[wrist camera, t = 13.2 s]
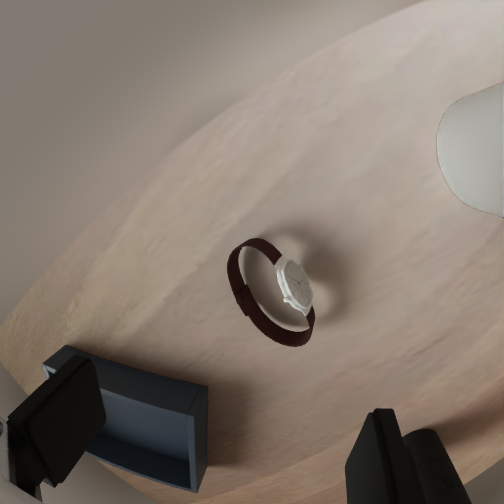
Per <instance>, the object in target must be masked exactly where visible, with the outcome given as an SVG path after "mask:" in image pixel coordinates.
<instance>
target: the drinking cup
mask: <svg viewBox="0 0 504 504" xmlns="http://www.w3.org/2000/svg"><path fill="white" fill-rule="evenodd" d="M402 439H403V443H404V445H408V446H409V447H410V448H411V450H412V453H413V457H414V460H415V463H416V467H417V470H418V474H419V478H420V481H421V485H422V489H423V493H424V496H425V500H426V504H472V503H471V501H470V499H469V497H468V494H467V493H466V490H465V488H464V486H463V484H462V482H461V480H460V478H459V476H458V474H457V472H456V470H455V468H454V466H453V464H452V462H451V460H450V458H449V456H448V454H447V452H446V450H445V448H444V446H443V444H442V442H441V440H440V439H439V437H438V435H437V433H436V432H435V431H433V430H430V429H422V430H417V431H414V432H411V433H409V434H407V435H406V436H404V437H402Z"/></svg>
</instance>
